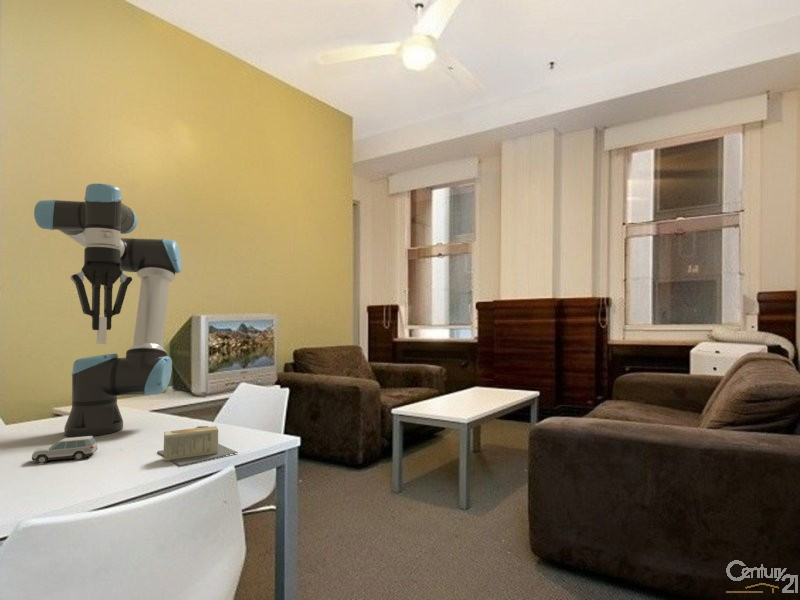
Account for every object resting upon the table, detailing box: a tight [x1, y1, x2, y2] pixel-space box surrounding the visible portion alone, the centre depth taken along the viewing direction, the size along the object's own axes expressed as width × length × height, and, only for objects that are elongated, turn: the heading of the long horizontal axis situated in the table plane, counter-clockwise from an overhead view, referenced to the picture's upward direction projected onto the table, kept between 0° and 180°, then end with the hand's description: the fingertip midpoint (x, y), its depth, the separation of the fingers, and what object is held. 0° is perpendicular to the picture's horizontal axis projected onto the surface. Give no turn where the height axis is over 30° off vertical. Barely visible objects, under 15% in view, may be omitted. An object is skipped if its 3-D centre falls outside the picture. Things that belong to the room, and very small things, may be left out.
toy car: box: [31, 436, 98, 464], centre depth 115 cm, size 6×13×5 cm, turn 111°
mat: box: [157, 443, 239, 468], centre depth 119 cm, size 16×14×1 cm
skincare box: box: [163, 425, 219, 461], centre depth 116 cm, size 6×4×12 cm
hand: (101, 343), depth 114 cm, fingers closed
